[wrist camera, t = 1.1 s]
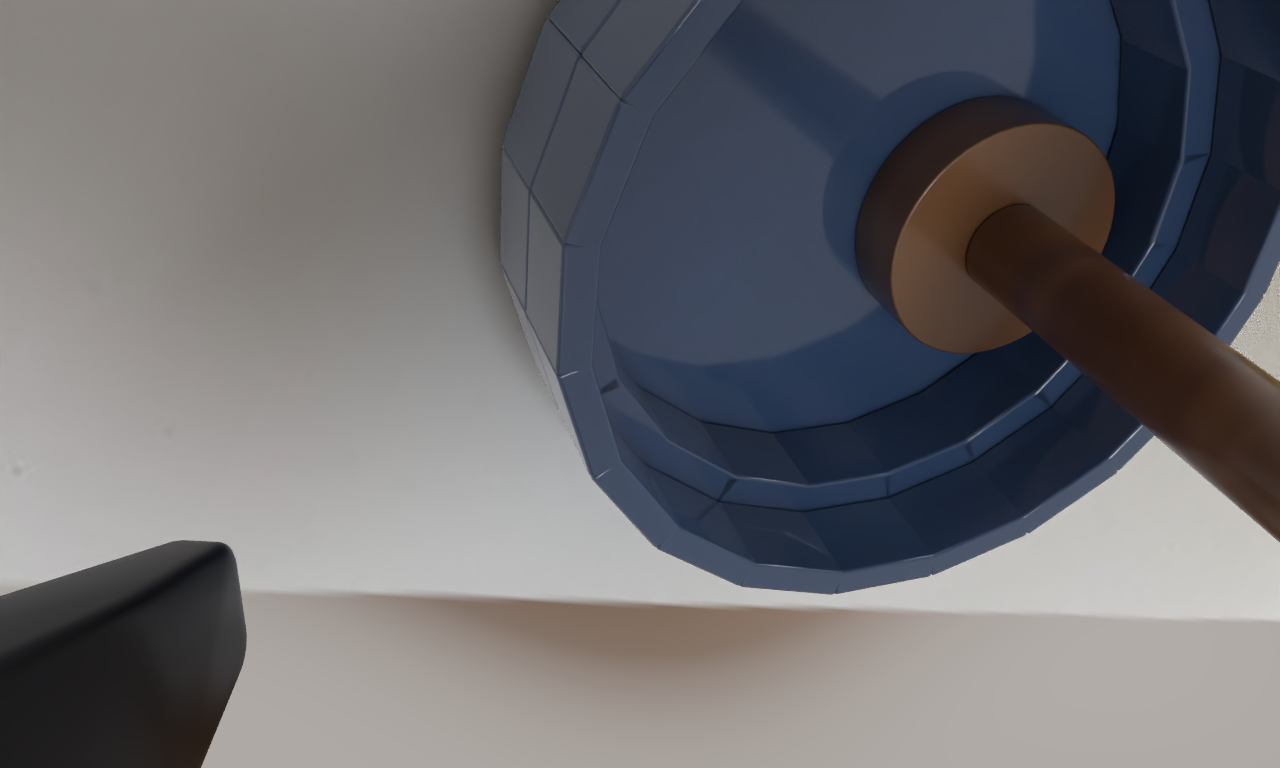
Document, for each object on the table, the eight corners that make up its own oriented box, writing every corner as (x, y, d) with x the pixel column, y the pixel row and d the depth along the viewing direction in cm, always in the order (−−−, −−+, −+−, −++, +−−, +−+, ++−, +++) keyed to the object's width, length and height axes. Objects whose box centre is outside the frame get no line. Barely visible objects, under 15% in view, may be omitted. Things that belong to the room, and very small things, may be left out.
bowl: (396, 412, 23) (440, 562, 19) (672, -393, 17) (807, -387, 13) (940, 490, 29) (1046, 613, 26) (1277, -67, 23) (1473, -6, 20)
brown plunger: (814, 295, 24) (1334, 858, 13) (929, 64, 22) (1653, 516, 11) (992, 336, 26) (1554, 844, 16) (1111, 132, 24) (1853, 559, 14)
